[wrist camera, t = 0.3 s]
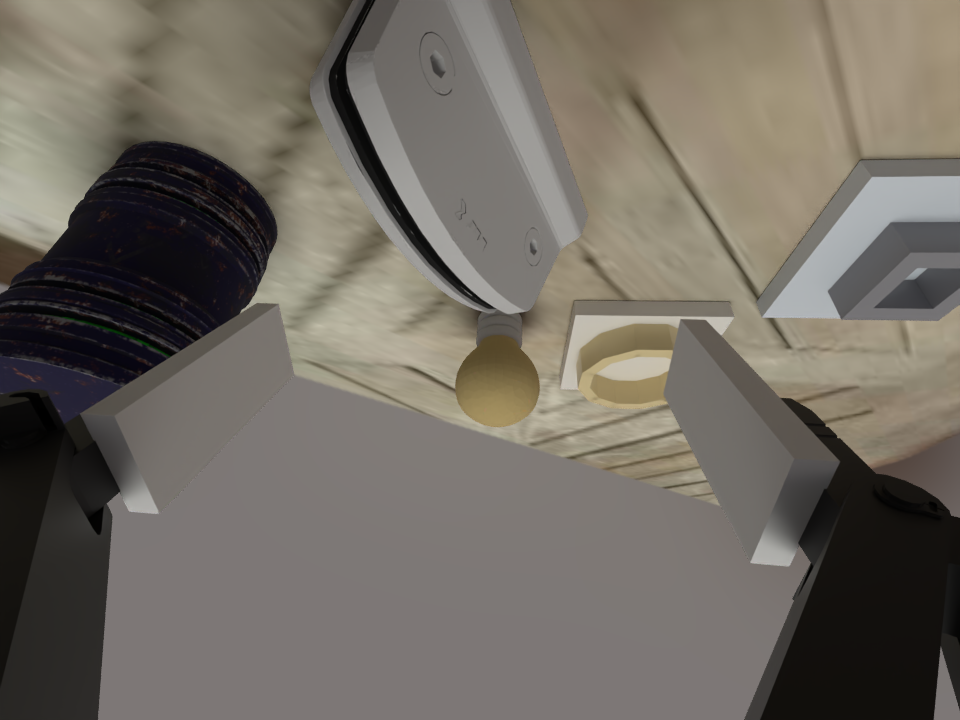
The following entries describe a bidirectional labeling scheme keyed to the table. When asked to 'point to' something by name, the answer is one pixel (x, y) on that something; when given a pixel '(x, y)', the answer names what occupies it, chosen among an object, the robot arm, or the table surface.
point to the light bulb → (497, 373)
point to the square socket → (878, 248)
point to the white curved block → (451, 144)
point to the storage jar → (134, 276)
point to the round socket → (629, 348)
